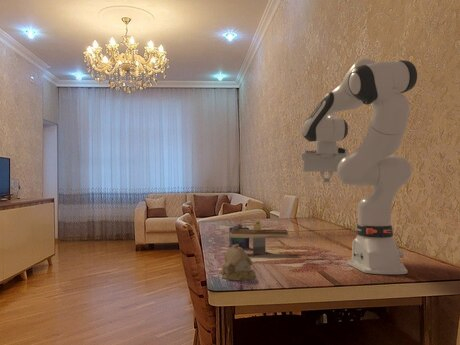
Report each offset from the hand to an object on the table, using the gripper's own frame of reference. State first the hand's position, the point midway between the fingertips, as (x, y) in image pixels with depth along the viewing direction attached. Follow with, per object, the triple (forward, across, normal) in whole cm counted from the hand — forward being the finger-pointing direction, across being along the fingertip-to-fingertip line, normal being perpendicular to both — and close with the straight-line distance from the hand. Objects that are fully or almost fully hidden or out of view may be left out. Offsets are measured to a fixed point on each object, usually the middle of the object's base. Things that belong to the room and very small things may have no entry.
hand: (326, 182), depth 175 cm
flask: (+29, -38, +4) cm, 48 cm away
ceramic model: (+30, -36, -49) cm, 67 cm away
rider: (+21, -30, -9) cm, 37 cm away
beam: (+29, -29, -9) cm, 42 cm away
